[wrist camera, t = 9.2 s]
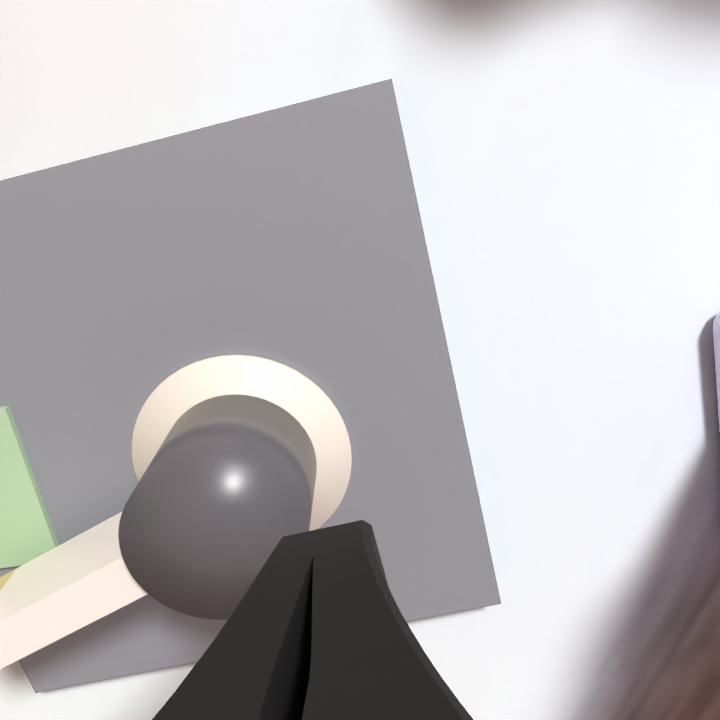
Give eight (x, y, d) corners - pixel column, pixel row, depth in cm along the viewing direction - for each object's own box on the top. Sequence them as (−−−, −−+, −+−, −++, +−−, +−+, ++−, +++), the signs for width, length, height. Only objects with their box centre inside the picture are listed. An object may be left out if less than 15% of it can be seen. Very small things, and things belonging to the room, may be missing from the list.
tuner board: (390, 80, 17) (392, 78, 16) (495, 583, 23) (502, 607, 21) (-177, 228, 19) (-212, 235, 18) (48, 670, 24) (33, 697, 23)
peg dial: (262, 366, 18) (238, 427, 15) (345, 489, 20) (341, 572, 16) (-38, 534, 20) (-123, 625, 17) (56, 636, 22) (-5, 740, 18)
